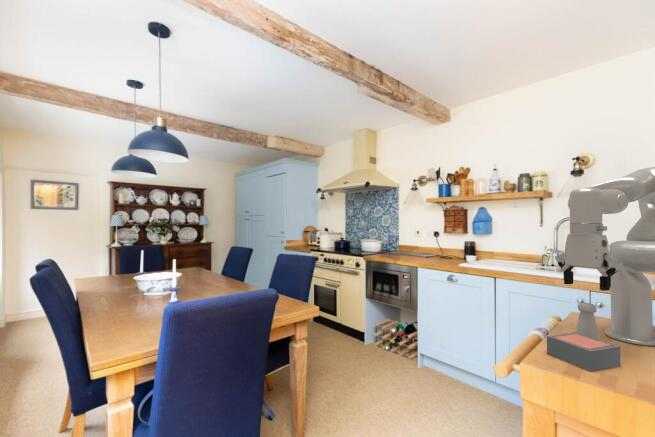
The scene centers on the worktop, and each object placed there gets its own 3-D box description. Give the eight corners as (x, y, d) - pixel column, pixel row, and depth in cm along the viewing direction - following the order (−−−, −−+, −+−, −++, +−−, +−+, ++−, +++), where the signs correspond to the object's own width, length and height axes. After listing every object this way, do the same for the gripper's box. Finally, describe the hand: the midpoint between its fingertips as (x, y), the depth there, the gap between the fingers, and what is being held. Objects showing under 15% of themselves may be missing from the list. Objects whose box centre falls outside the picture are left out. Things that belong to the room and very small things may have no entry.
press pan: (575, 337, 87) (575, 333, 87) (612, 349, 79) (612, 345, 79) (553, 340, 85) (553, 336, 85) (588, 352, 76) (588, 349, 76)
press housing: (574, 349, 89) (574, 332, 89) (620, 365, 78) (620, 346, 78) (546, 353, 85) (546, 335, 85) (591, 371, 75) (590, 351, 75)
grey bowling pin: (605, 352, 87) (604, 306, 87) (582, 350, 88) (582, 305, 88) (592, 344, 93) (591, 301, 93) (570, 343, 94) (570, 300, 94)
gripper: (629, 230, 84) (630, 292, 84) (564, 229, 101) (564, 281, 100) (611, 229, 82) (611, 293, 81) (547, 229, 98) (547, 282, 98)
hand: (585, 287), depth 91 cm, fingers open, 9 cm apart
